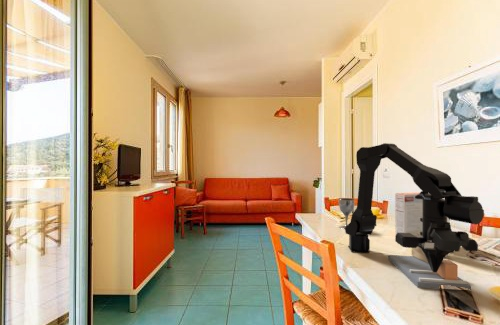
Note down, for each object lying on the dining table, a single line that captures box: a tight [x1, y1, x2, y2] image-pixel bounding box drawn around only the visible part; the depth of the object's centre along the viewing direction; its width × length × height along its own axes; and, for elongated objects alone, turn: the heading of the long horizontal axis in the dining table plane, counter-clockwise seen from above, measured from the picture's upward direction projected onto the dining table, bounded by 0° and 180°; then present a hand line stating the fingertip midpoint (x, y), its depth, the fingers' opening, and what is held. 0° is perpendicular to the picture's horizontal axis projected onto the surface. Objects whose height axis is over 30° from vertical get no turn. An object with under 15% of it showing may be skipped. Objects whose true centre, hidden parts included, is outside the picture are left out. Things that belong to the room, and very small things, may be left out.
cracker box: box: [394, 192, 422, 237], centre depth 112 cm, size 14×6×21 cm, turn 102°
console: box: [388, 254, 472, 291], centre depth 79 cm, size 13×21×7 cm, turn 171°
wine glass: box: [338, 197, 356, 230], centre depth 135 cm, size 8×8×15 cm
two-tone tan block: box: [411, 246, 428, 263], centre depth 85 cm, size 10×1×4 cm, turn 7°
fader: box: [438, 259, 459, 280], centre depth 72 cm, size 3×4×4 cm
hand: (434, 271), depth 73 cm, fingers closed
